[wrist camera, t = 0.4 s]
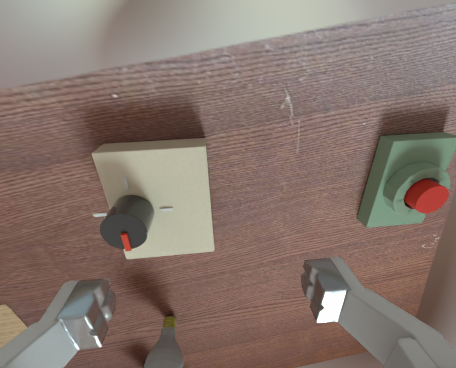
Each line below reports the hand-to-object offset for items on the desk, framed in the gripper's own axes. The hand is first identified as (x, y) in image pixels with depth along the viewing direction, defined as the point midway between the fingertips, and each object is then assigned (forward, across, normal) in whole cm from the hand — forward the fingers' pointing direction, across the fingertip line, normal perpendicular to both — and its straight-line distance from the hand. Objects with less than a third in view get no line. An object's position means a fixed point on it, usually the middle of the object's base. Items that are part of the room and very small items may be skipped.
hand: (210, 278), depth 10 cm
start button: (+14, -25, +6) cm, 29 cm away
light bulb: (+18, +8, +30) cm, 36 cm away
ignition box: (+18, -25, +6) cm, 31 cm away
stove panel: (+18, +5, +6) cm, 20 cm away
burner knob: (+15, +8, +6) cm, 18 cm away
